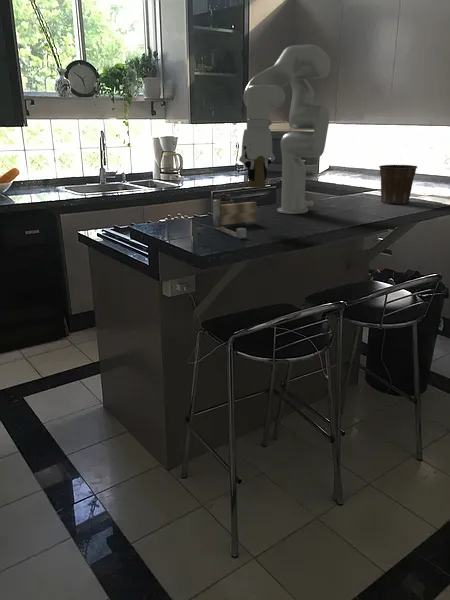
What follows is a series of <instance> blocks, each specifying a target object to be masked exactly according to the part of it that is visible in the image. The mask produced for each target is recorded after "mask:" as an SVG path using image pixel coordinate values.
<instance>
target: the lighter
mask: <svg viewBox="0 0 450 600" xmlns="http://www.w3.org/2000/svg"><path fill="white" fill-rule="evenodd" d="M213 198H214V199H216V200H220V220H221V205H225V204H234V199H231V194H225V193H224V192H223V193H222V194H221V193H215V194H213ZM214 199H212V201H211V202H212V204H213V200H214Z"/></svg>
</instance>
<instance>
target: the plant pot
mask: <svg viewBox="0 0 450 600" xmlns="http://www.w3.org/2000/svg"><path fill="white" fill-rule="evenodd" d="M378 167H379V174H380V202H381V203H382V202H383V204H386V203H389V204H388V205H393V204H396V205H406V204H409V203H410V198H411V192H412V187H413V183H414V178H415V175H416V172H417V169H418V165H411V164H382V165H379V166H378Z"/></svg>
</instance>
